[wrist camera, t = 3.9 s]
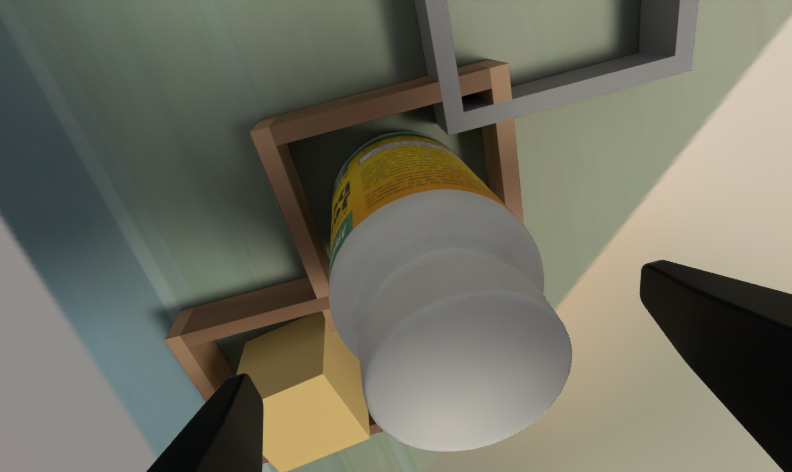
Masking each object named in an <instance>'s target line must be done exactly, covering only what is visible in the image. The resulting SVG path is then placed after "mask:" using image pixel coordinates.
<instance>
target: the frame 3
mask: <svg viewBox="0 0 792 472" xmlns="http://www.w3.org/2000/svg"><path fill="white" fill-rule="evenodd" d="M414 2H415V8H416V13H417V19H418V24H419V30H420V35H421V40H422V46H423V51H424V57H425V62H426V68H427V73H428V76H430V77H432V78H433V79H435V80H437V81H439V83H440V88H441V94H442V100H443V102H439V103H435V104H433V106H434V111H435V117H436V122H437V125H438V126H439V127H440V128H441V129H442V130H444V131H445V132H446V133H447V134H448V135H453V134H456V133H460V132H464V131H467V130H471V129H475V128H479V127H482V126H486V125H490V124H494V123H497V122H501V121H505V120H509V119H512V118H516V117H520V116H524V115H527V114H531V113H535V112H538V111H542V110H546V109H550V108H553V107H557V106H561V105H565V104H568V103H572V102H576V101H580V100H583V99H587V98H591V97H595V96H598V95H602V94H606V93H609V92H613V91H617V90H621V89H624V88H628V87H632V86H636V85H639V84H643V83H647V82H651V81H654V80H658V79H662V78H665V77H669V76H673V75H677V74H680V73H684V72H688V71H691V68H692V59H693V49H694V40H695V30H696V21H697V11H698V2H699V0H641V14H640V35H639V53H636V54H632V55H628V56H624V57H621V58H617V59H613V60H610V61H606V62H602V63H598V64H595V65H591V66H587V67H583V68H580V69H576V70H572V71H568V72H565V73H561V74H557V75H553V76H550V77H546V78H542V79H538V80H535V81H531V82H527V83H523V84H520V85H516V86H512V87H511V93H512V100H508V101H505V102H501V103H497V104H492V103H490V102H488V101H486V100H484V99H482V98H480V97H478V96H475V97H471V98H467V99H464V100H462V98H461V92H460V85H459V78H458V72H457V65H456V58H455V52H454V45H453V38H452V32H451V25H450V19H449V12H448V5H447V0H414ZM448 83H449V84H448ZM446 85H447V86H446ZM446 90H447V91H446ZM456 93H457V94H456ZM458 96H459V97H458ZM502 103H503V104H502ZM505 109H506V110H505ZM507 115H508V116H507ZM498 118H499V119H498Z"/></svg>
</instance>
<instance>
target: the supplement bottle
mask: <svg viewBox="0 0 792 472" xmlns="http://www.w3.org/2000/svg"><path fill="white" fill-rule="evenodd" d="M543 290H544V273H543V265H542V261H541V257H540V253H539V251H538V248H537V246H536V244H535V242H534V240H533V238H532V236H531V234H530V233H529V231H528V230H527V229H526V227H525V226H524V225H523V224H522V222H521V221H520V220H519V219H518V218H517V216H516V215H515V214H514V213H513V212H512V211H511V210H510V209H509V208H508V207H507V206H506V205H505V204H504V203H503V202H502V201H501V200H500V199H499V198H498V197H497V196H496V195H495V194H494V193H493V192H492V191H491V190H490V189H489V188H488V187H487V186H486V185H485V184H484V183H483V182H482V181H481V180H480V179H479V178H478V177H477V176H476V175H475V174H474V173H473V172H472V171H471V170H470V169H469V168H468V166H467V165H466V164H465V163H464V162H463V161H462V160H461V159H460V158H459V157H458V156H457V155H456V154H455V153H454V152H453V151H452V150H451V149H450V148H448V147H447V146H446V145H444V144H443V143H441V142H440V141H438V140H436V139H434V138H432V137H430V136H427V135H425V134H421V133H415V132H393V133H388V134H383V135H380V136H378V137H375V138H373V139H371V140H370V141H368V142H367V143H365V144H364V145H362V146H361V147H360V148H358V149H357V150H356V151H355V152H354V153H353V154H352V155H351V156H350V157H349V158H348V160H347V161H346V162H345V164H344V165H343V167H342V168H341V170H340V172H339V174H338V176H337V178H336V181H335V185H334V189H333V199H332V223H331V246H330V266H329V304H330V311H331V315H332V319H333V322H334V325H335V327H336V330H337V332H338V334H339V336H340V338H341V339H342V341H343V342H344V344H345V345H346V346H347V348H348V349H349V350H350V351H351V353H352V354H353V355H354V356H355V357H356V358H357V359H359V361H360V370H361V379H362V388H363V395H364V399H365V402H366V406H367V408H368V410H369V413H370V415H371V416H372V418H373V419H374V421H375V422H376V424H377V425H378V426H379V427H380V428H381V429H382V430H383V431H384V432H385V433H387V434H388V435H390V436H391V437H393V438H394V439H396V440H398V441H399V442H401V443H403V444H406V445H408V446H411V447H415V448H419V449H424V450H428V451H462V450H471V449H476V448H479V447H484V446H488V445H491V444H493V443H496V442H499V441H501V440H503V439H506V438H508V437H510V436H512V435H514V434H516V433H517V432H519V431H521V430H523V429H524V428H526V427H527V426H529V425H530V424H531V423H533V422H535V421H536V420H537V419H538V418H539V417H541V416H542V415H543V414H544V412H545V411H547V410H548V409H549V408H550V406H551V405H552V404H553V403H554V401H555V400H556V398H557V397H558V396H559V394H560V393H561V391H562V389H563V387H564V385H565V383H566V381H567V378H568V376H569V372H570V368H571V362H572V361H571V360H572V347H571V342H570V338H569V335H568V333H567V331H566V328H565V326H564V324H563V323H562V321H561V320H560V318H559V317H558V315H557V314H556V312H555V311H554V310H553V308H552V307H551V306H550V304H549V303H548V301H547V300H546V298H545V296H544V295H543Z"/></svg>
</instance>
